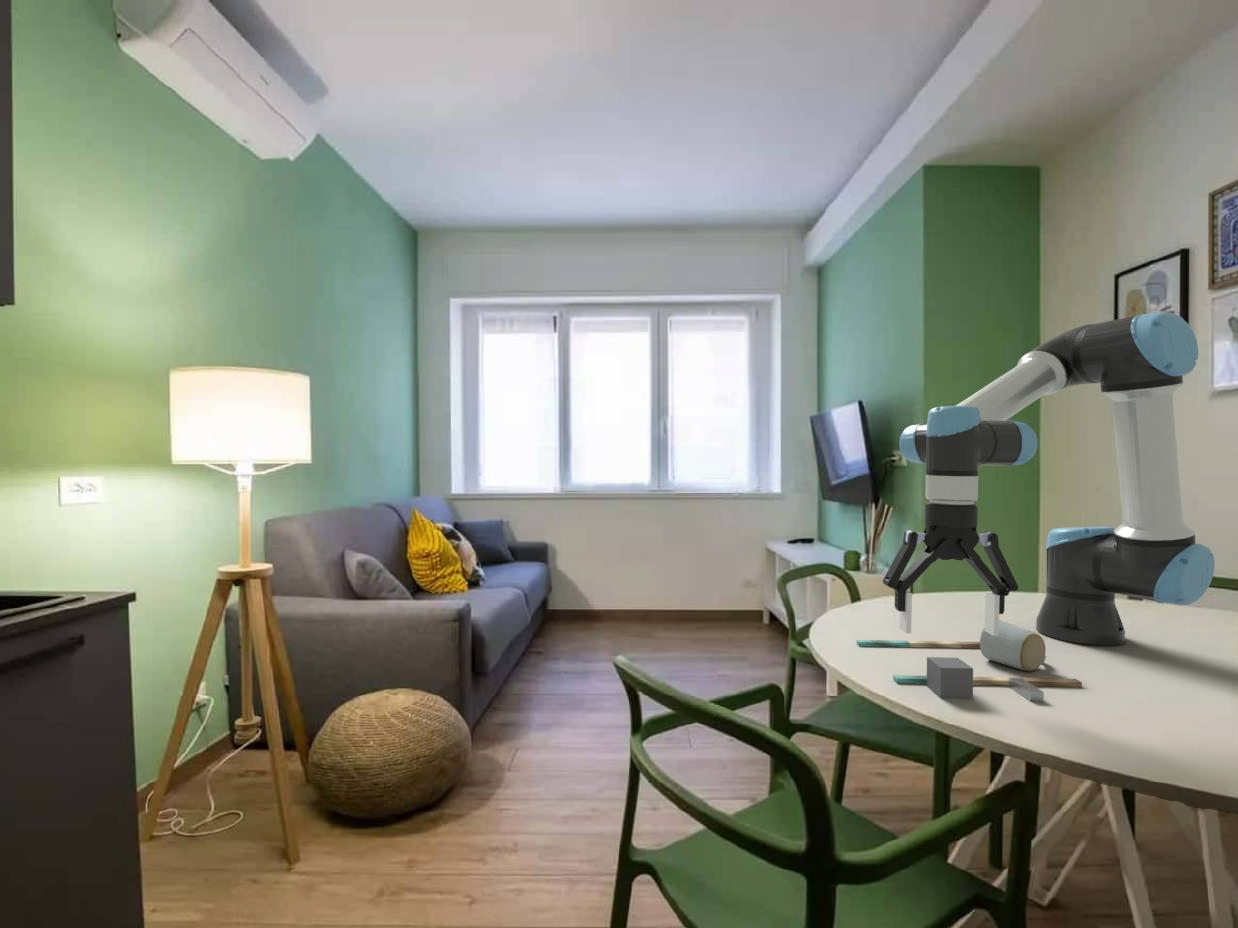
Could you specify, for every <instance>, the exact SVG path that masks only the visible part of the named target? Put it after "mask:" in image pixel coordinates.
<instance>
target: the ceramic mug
mask: <svg viewBox="0 0 1238 928" xmlns="http://www.w3.org/2000/svg"><path fill="white" fill-rule="evenodd" d="M979 642H980V648H979V649H980V653H981V654H982V656H983V657H984V658H985V659H987V660H989V661H992V662H995V663H998V664H1001V665H1005V666H1008V667H1011V668H1014V669H1018V670H1020V671H1025V672H1033V671H1036V670H1037V669H1039V668H1040V666H1041V665H1043V664H1044V663H1045V661H1046V658H1047V655H1046V650H1047V649H1046V644H1045V640H1044V639H1043V637H1042V636H1041V635H1039V634H1038V633H1036V632H1035V631H1032V630H1030V629H1027V628H1024V627H1020V626H1018V625H1015V624H1012V623H1009V622H1007V621H1004V620H1000V619H999V636H993V635H991V634H989V633H988V632H986V631H985V626H984V627H983V628H982V631H981V635H980V639H979Z"/></svg>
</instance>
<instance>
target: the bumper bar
mask: <svg viewBox="0 0 1238 928" xmlns="http://www.w3.org/2000/svg"><path fill="white" fill-rule="evenodd" d="M1022 678H1023V677H1009V685H1008V687H1009V688H1010V689H1012V690H1013V691H1015V692H1016V693H1017V694H1019V695H1020V696H1022V697H1023V698H1024V699H1026V700H1028V701H1029V702H1035V703H1036V702H1040V703H1044V699H1045V698H1044V697H1045V696H1044V695H1045V694H1044V693H1045V692H1044V691H1043V690H1041V689H1040V688H1038V687H1037V686H1033V685H1032V684H1030V683H1028V682H1027V681H1025V680H1024V679H1022Z"/></svg>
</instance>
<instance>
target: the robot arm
mask: <svg viewBox="0 0 1238 928" xmlns="http://www.w3.org/2000/svg"><path fill="white" fill-rule="evenodd" d="M1198 359H1199V345H1198V341H1197V338H1196V334H1195V332H1194V330H1193V329H1192V327H1191V326H1190V324H1189V323H1188V322H1187V321H1185V319H1184V318H1183V317H1182V316H1179V315H1178V314H1176V313H1173V312H1169V311H1168V312H1167V311H1163V312H1155V313H1154V312H1153V313H1152V312H1151V313H1141V314H1139V315H1134V316H1127V317H1124V318H1118V319H1113V320H1107V321H1103V322H1097V323H1093V324H1092V323H1091V324H1085V325H1079V326H1077V327H1075V328H1071V329H1069V330H1067V331H1064V332H1062V333H1060V334H1058V335H1056V336H1055V337H1053V338H1051V339H1049V340H1046V341H1045V342H1043V343H1042V344H1040V345H1038V346H1037V347H1035V348H1033V349H1032V350H1031V351H1028V352H1027V353H1025V354H1024V355H1023V356H1022V357H1021V358H1019V360H1018V361H1017V364H1016V366H1014V368H1011V370H1008V371H1007V372H1005V374H1003V375H1001V376H1000V377H998V378H996V379H994V380H993V381H992V382H990V383H988V384H987V385H985V386H984V387H983V388H981V389H980V390H978V391H977V392H975V393H974V394H973V393H972V395H970V396H969V397H967V398H966V399H964V400H963V401H961V402H960V403H958V404H956V405H947V406H937V407H933V408H931V409H930V410H929V411H928V413H927V421H926V423H917V424H912V425H910V426H908V427H906V428H905V429H904V430H903V431H902V432H901V435H900V437H899V450H900V452H901V455H902V456H903V458H904V459H906V461H908V462H910V463H914V464H923V465H925V495H924V496H925V498H926V499H927V500H929V501H928V502H926V503H925V505H924V530H923V532H917V531H913V530H910V529H906V530H905V531H904V533H903V539H902V544H901V546H900V547H899V549H898V551H897V553H896V554H895V556H894V559H893V560H892V563H891V564H890V566H889V568H888V570H887V572H886V573H885V576H884V578H883V580H882V584H883V585H885V586H886V587H888V588H890V589H893V591H894V608H895V610H897V612H899V630H901V631H902V632H904V633H905V634H912V608H913V605H912V603H913V602H912V599H913V593H912V592H911V591H909V589H910V588H911V587H912V585H913V584H914V583H915V582H916V581H918V579H919V578H920V577H921V576H922V575H923V574H924V572H925V571H926V570H927V569H928V568H929V567H930V566H931V565H932V564H933V563H935V562H937V560H938V559H940V560H942V561H950V560H955V561H964V560H965V561H966V562H967V563H968V564H969V565H970V567H971V568H972V569H973V570H974V571H975V573H976V574H977V575H978V576H979V577H980V579H981V580H982V581H983V582H984V583H985V584H986V586H987V587H988V588H989V589H990V590H991V591H985V596H984V597H985V598H984V599H985V607H984V609H985V610H984V612H985V613H984V627H985V631H986V632H988V633H989V634H991V635H993V636H999V620H1000V615H1003V614H1004V613H1005V605H1006V604H1005V600H1006V599H1005V597H1007V596H1008V595H1009V594H1010V592H1016V591H1018V590H1019V585H1018V583H1017V581H1016V579H1015V577H1014V575H1013V573H1012V571H1011V568H1010V567H1009V565H1008V562H1007V561H1006V558H1005V557H1004V555H1003V552H1002V551H1001V548H1000V544H999V536H998V534H997V533H995V532H990V531H987V530H986V531H983V532H982V533H978V531H977V527H978V515H979V513H978V512H979V507H978V506H977V504H975V502H977V501H978V500H979V471H980V470H979V466H995V467H996V466H1001V467H1012V466H1019V465H1023V464H1026V463H1028V462H1029V461H1030V460H1031V459H1033V457H1034V456H1035V455H1036V453H1037V449H1038V437H1037V434H1036V432H1035V430H1034V429H1033V428H1032V427H1031V426H1030V425H1028V424H1027V423H1024V422H1021V421H1014V420H1011V417H1013V416H1015V415H1016V414H1017V413H1019V412H1020V411H1022V410H1023V409H1025V408H1027V407H1028V406H1029V405H1031V404H1032V403H1034V402H1036V401H1037V400H1038V399H1040V398H1041V397H1043V396H1050V395H1051V396H1052V395H1054V394H1057V393H1058V392H1060V391H1061V390H1062V389H1065V388H1068V387H1073V386H1079V385H1085V384H1087V385H1088V384H1100V392H1101V395H1103V396H1106V397H1107V398H1108V399H1110V400H1111V403H1112V414H1113V425H1114V436H1115V437H1114V438H1115V447H1116V449H1115V450H1116V458H1117V469H1118V470H1117V471H1118V484H1119V492H1120V503H1121V505H1120V506H1121V516H1122V523H1121V524H1119V526H1117V527H1116V528H1115V527H1114V526H1075V527H1074V526H1072V527H1058V528H1052V529H1050V531H1049V532H1048V534H1047V541H1046V546H1045V550H1046V578H1045V579H1046V584H1045V585H1046V586H1045V587H1046V590H1045V591H1046V592H1045V593H1046V594H1045V597H1044V600H1043V602H1042V604H1041V607H1040V609H1039V612H1038V615H1037V616H1036V619H1035V629H1036V631H1037V632H1038V633H1040V634H1042V635H1045V636H1047V637H1050V638H1053V639H1057V640H1060V641H1063V642H1064V641H1065V642H1071V643H1075V644H1082V645H1089V646H1103V647H1104V646H1106V647H1107V646H1118V645H1123V644H1125V642H1126V630H1125V627H1124V624H1123V622H1122V619H1121V616H1120V614H1119V611H1118V608H1117V606H1116V603H1115V601H1116V600H1115V598H1116V597H1115V596H1116V594H1118V595H1122V596H1129V597H1133V598H1138V599H1142V600H1146V601H1152V602H1156V603H1158V604H1169V605H1176V606H1187V605H1188V606H1189V605H1192V604H1194V603H1195V602H1197V601H1199V600H1200V599H1201V598H1202V597H1203V596H1204V595H1205V594H1206V592H1207V590H1208V589H1209V587H1210V585H1211V583H1212V579H1213V577H1214V572H1215V557H1214V554H1213V553H1212V552H1211V551H1212V550H1211V549H1210V548H1209V547H1207V546H1206V545H1203V544H1202V543H1196V533H1195V530H1194V529H1193V528H1191V527H1190V526H1188V525H1187V524H1185V523H1184V521H1183V510H1182V496H1181V484H1180V472H1179V462H1178V461H1179V459H1178V449H1177V448H1178V447H1177V435H1176V422H1175V420H1176V419H1175V410H1174V400H1173V399H1174V397H1173V396H1174V394H1175V392H1176V391H1177V390H1179V389H1180V388H1181V387H1182V386H1183V384H1184V379H1183V376H1186V375H1187V374H1190V372H1193V370H1194V369H1195V367H1196V365H1197V360H1198ZM922 541H923V543H924V544H925V545H926V546H925V547H923V549H922V550H921V552H920V554H919V556H918V557H917V558H916V559H915V560H914V561H913V562H912V563H911V565H909V567H908V568H907V569H906V567H907V565H908V564H909V562H910V561H911V558H912V557H913V556H914V555H913V554H914V553H915V550H916V549H917V546H919V545H920V543H921V542H922ZM979 543H980V545H981V546H982V547H983V549H984V551H985V553H986V556H987V557H988V559H989V562H990V563H991V565H992V568H993V569H994V571H995V574H996V575H997V577H998V578H997V577H996V575H995V574H994V573H993V572H992V571H991V569H990V568H989V567H988V566H987V565H986V563H984V561H983V560H982V557H981V556H980V555H979V554H978V553H977V551H976V550H975V549H974V548H975V547H976V546H977V544H979ZM905 569H906V570H905Z"/></svg>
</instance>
